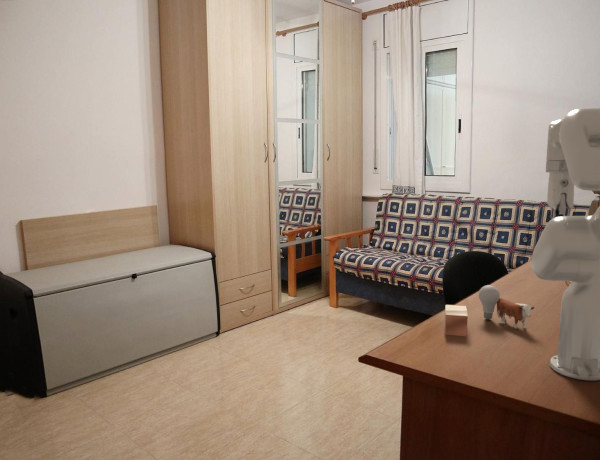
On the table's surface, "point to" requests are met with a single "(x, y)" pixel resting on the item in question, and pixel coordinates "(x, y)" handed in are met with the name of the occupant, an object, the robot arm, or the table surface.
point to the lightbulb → (489, 300)
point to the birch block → (456, 320)
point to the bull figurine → (513, 311)
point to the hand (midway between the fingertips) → (556, 233)
